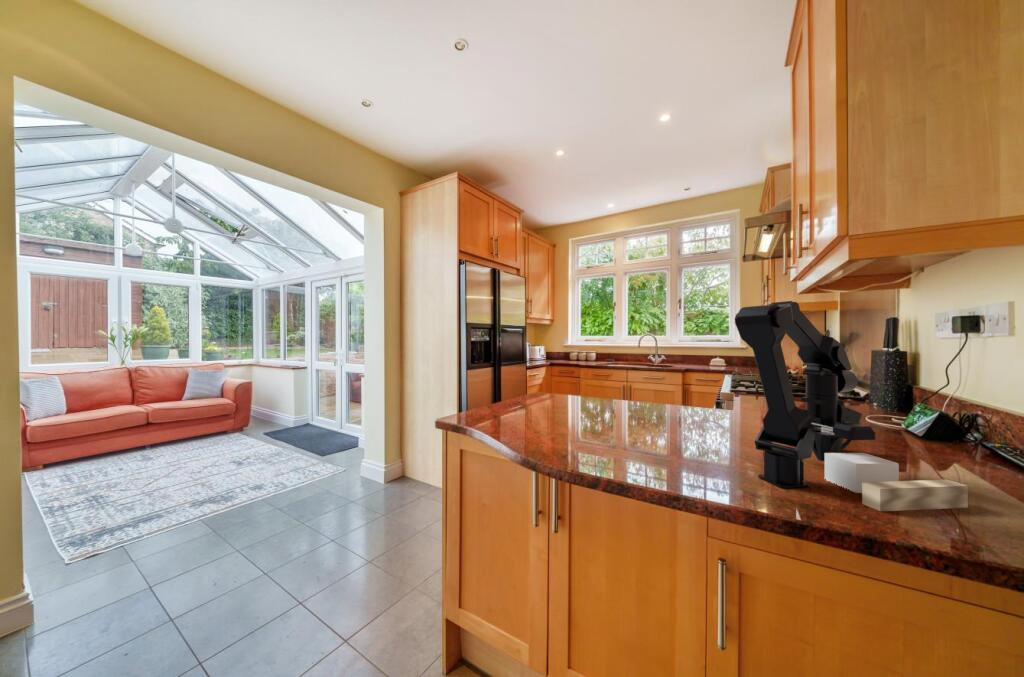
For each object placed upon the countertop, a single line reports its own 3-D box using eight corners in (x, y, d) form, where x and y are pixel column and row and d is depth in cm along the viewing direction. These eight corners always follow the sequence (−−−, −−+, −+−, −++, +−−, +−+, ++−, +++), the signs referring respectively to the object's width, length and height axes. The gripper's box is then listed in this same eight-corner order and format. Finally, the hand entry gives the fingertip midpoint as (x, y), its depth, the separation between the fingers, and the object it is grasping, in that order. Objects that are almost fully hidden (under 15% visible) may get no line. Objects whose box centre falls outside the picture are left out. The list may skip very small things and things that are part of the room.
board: (880, 511, 64) (880, 488, 64) (862, 503, 67) (862, 482, 67) (967, 507, 66) (967, 485, 66) (946, 500, 69) (946, 479, 69)
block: (856, 493, 72) (855, 463, 73) (824, 480, 79) (824, 453, 80) (898, 493, 73) (898, 463, 73) (863, 479, 80) (863, 452, 80)
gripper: (898, 400, 76) (898, 474, 76) (814, 389, 95) (814, 448, 95) (851, 400, 75) (851, 475, 75) (776, 389, 94) (776, 449, 94)
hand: (821, 460), depth 85 cm, fingers closed
